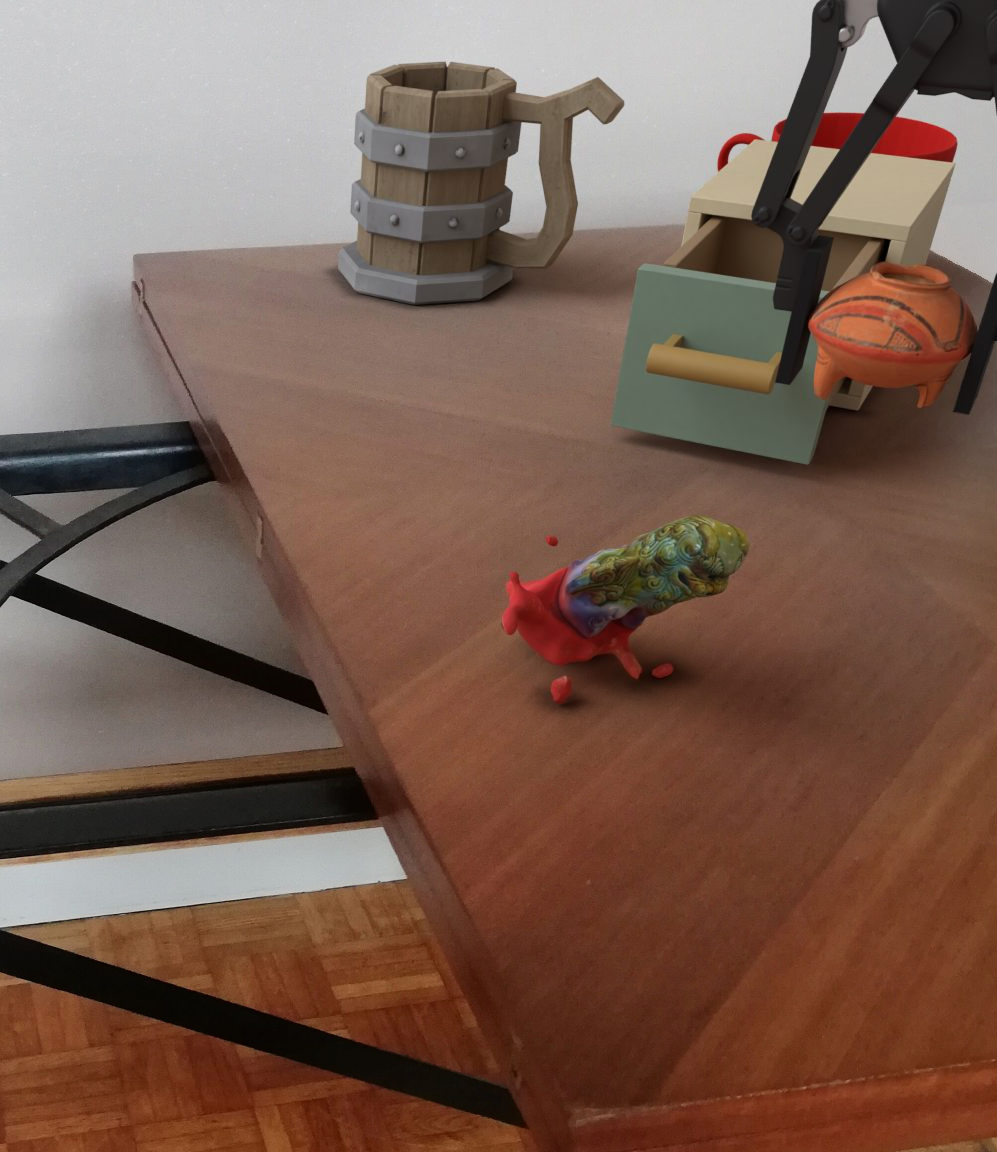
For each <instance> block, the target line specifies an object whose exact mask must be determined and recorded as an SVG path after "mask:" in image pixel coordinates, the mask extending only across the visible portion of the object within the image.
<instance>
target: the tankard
mask: <svg viewBox="0 0 997 1152" xmlns="http://www.w3.org/2000/svg"><path fill="white" fill-rule="evenodd" d="M517 84H518V83H517V81H516V80H515V79H514V78H513V77H511V76H510V75H509V74H507V73H505V72H504V71H503V70H501V69H499V68H495V67H493V66H486V65H480V64H479V65H478V64H472V63H463V62H456V61H450V62H449V64H448V65H447V62H446V61H429V62H409V63H398V64H393V65H390V66H387V67H385V68H382V69H379V70H377V71H374V72H372V73H370V74H369V75H367V77H366V83H365V85H366V86H365V100H364V101H365V102H364V108H362V109H360V110H357V112H355V118H354V119H355V122H354V140H353V141H354V142H353V144H354V146H355V147H356V148H357V149H358V150H359V151H360V152H361V167H360V178H359V179H357V180H355V181H353V182H352V183H351V191H350V210H349V213H350V214H351V216H352V217H353V218H354V219H355V220H356V222H357V233H356V234H357V236H356V241H353V242H352V243H349V244H348V245H346V246H344V247H342V248H340V250H339V251H338V260H337V269H338V271H339V272H340V273H341V275H342V276H343V277H344V278H345V280H346V281H347V282H348V283H349V284H350V286H351V287H352V289H353V290H354V291H355V292H356V293H357V294H362V295H366V296H372V297H376V298H381V299H386V300H390V301H394V302H399V303H403V304H408V305H414V306H418V305H419V306H421V305H433V304H446V303H448V304H449V303H459V302H461V303H462V302H474V301H476V302H477V301H480V300H482V299H483V298H485V297H487V296H488V295H490V294H491V293H493V292H495V291H496V290H498V289H500V288H501V287H503V286H504V285H506V284H508V283H509V282H511V281H512V280H513V274H514V269H516V270H517V269H521V270H522V269H526V270H527V269H531V270H532V269H533V270H534V269H537V270H539V269H540V270H541V269H542V270H543V269H544V270H545V269H548V268H549V267H552V266H553V264H554V263H555V261H556V260H557V258H558V257H559V255H560V254H561V252H562V251H563V249H564V248H565V247H566V245H567V244H568V242H569V241H570V240H571V238H572V236H573V235H574V234H573V233H574V228H575V224H576V218H577V211H578V207H579V201H578V195H577V189H576V184H575V177H574V171H573V165H572V144H573V143H572V142H573V127H574V126H573V125H574V118H576V117H577V116H579V115H581V114H583V113H585V112H587V111H589V112H590V113H591V114H592V115H593V117H595V118H596V119H597V120H598V121H599V122H600V123H601V125H608V124H610V123H612V122H613V121H614V120H615V119H616V117H617V116H618V115H619V114H620V112H621V111H622V109H623V108H624V107H625V100H624V99H623V98H622V97H621V96H619V94H618V93H616V92H615V91H614V90H613V89H612V88H611V87H610V86H609V85H608V84H606V82H604V81H603V80H602V79H601V78H600V77H599V76H596V77H595V78H591V79H590V80H588V81H585V82H582V83H581V84H578V85H576V86H574V87H571V88H569V89H566V90H562V91H559V92H557V93H553V94H550V95H547V96H540V95H533V94H529V93H528V94H526V93H521V92H517ZM523 123H525V124H535V125H536V124H537V125H539V147H538V168H539V169H538V170H539V174H540V179H541V185H542V190H543V196H544V203H545V206H546V207H545V214H544V218H543V224H542V228H541V229H540V231H539V233H538V234H537V236H536V237H533V238H524V237H521V236H518V235H516V234H512V233H510V232H507V231H504V230H501V228H502V227H504V226H506V225H507V224H508V223H510V221H511V212H512V204H513V195H514V192H513V190H512V189H511V188H509V186H507V185H506V178H507V171H508V162H509V161H508V160H509V158H510V157H513V156H514V155H516V154H517V153H518V152H519V147H520V139H521V131H522V124H523Z"/></svg>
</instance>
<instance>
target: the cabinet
mask: <svg viewBox="0 0 997 1152" xmlns="http://www.w3.org/2000/svg"><path fill="white" fill-rule="evenodd" d="M777 143H778V142H773V141H771V140H765V139H764V140H756V139H755V140H754V141H753V142H751V143H750V144H749V145H747V146H745V147H744V148H743V149H742V150H741V151H740V152H739V153H737V155H735V157H734V158H732V159H731V160H730V161H728V164H727V165H726V166H725V167H724V168H722V169H721V170H720V171H719V172H718V171H717V172H716V173H715V174H714V175H713V176H712V177H711V178H710V179H709V180H708V181H706V183H704V184H703V185H702V186H701V187H700V188H699V189H697V191H695V192H694V193H693V194H692V195H691V196H690V198H689V203H688V209H687V211H688V212H687V215H686V219H685V224H684V230H683V235H682V240H681V245H680V247H681V246H683V245H684V244H685V243H686V242H687V241H688V240H689V239H690V238H691V237H692V236H693V235H694V234H695V233H696V232H697V231H698V230H699V229H700V228H701V227H702V226H703V225H704V224H705V223H707V222H708V221H709V220H710V219H711V218H712V217H713V216H714V215H718V216H725V217H732V218H739V219H747V220H752V218H751V214H752V210H753V207H754V205H755V202H756V199H757V197H758V194H759V191H760V189H761V186H762V183H763V181H764V178H765V175H766V173H767V170H768V167H769V165H770V162H771V159H772V156H773V154H774V151H775V148H776V146H777ZM839 150H840V149H832V148H824V147H815V146H811V147H810V149H809V152H808V155H807V157H806V160H805V162H804V165H803V167H802V170H801V173H800V175H799V178H798V180H797V183H796V185H795V188H794V190H793V193H792V196H791V199H793V200H795V201H796V202H798V203H800V204H802V205H803V204H804V202H805V201H806V199H807V198H808V196H809V195H810V193H811V192H812V190H813V189H814V187H815V186H816V184H817V183H818V181H819V180H820V178H821V177H822V175H823V174H824V172H825V171H826V169H827V168H828V166H829V165H830V163H831V162H832V160H833V159H834V157H835V156H836V154H837V153H838V151H839ZM955 166H956V163H955V162H952V163H951V162H942V161H934V160H926V159H917V158H909V157H900V156H892V155H883V154H875V153H870V155H869V156H868V158H867V159H866V161H865V162H864V163H863V165H862V166H861V168H860V169H859V171H858V172H857V174H856V175H855V177H854V178H853V179H852V181H851V182H850V184H849V185H848V187H847V188H846V190H845V191H844V192H843V194H842V195H841V197H840V198H839V200H838V201H837V203H836V204H835V205H834V207H833V208H832V210H831V211H830V213H829V214H828V216H827V217H826V219H825V220H824V221H823V224H822V225H821V226H820V227H819V230H826V231H833V232H840V233H848V234H855V235H862V236H869V237H876V238H884V239H887V241H886V245H885V248H884V252H883V255H882V259H881V262H889V263H893V264H899V265H916V264H922V265H925V266H927V265H926V264H927V262H928V257H929V254H930V251H931V248H932V244H933V241H934V237H935V234H936V231H937V227H938V223H939V221H940V219H941V218H940V217H941V214H942V210H943V207H944V204H945V201H946V198H947V193H948V191H949V187H950V183H951V180H952V177H953V174H954V170H955V168H956V167H955ZM873 387H874V386H871V385H866V384H862V383H859V382H857V381H855V380H852V379H850V378H849V377H847V379H846V380H845V382H844V384H843V385H842V387H841V388H840V390H839V391H838V393H837V394H836V396H835V397H834V399H833V400H832V402H831V404H830V405H829V407H835V408H839V409H840V408H841V409H847V410H852V411H859V410H860V408H861V406H862V405H863V403H865V400H866V398H867V397H868V395H869V393H870V392H871V390H872V388H873Z"/></svg>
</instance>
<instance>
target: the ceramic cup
mask: <svg viewBox="0 0 997 1152" xmlns="http://www.w3.org/2000/svg"><path fill="white" fill-rule="evenodd" d="M864 113H865V112H840V111H839V112H824V113H823V116H822V119H821V121H820V124H819V126H818V129H817V131H816V134H815V137H814V139H813V142H812V144H811V146H815V147H824V148H832V149H841V147H842V146H843V144H844V143H845V141H846V140H847V138H848V137H849V135H850V134H851V132H852V131H853V129H854V128H855V126H856V125H857V123H858V122H859V120H860V119H861V117H862V116H863V114H864ZM786 119H787V118H785V119H782V120H781V121H778V122H777V123H776V124H775V125H774V127H773V130H772V134H771V135H772V136H771V140H770V141H773V142H778V140H779V138H780V135H781V132H782V130H783V127H784V124H785V122H786ZM755 139H756V140H765V139H764V138H763V137H761V136H759V135H757V134H755V133H751V132H749V133H748V132H742V133H739V134H735V135H733V136H731V137H730V138H729V139H727V140H726V141H725V143H724V144H723V146H722V147H721V149H720V151H719V153H718V157H717V173H718V172H719V171H720V170H721V169H722V168H724V167H725V166H726V165H727V164H728V163H729V157H730V154H731V152H732V150H733V148H735V147H736V146H737V145H747V146H748V145H749V144H750V143H751V142H753V141H754V140H755ZM957 148H958V138H957V137H956V135H954V133H952V132H951V131H949V130H948V129H946V128H944V127H941V126H939V125H935V124H932V123H929V122H925V121H922V120H917V119H912V118H907V117H903V116H902V117H901V116H896V117H895V119H894V120H893V121H892V123H891V124H890V126H889V127H888V129H887V130H886V132H885V133H884V134H883V136H882V137H881V139H880V140H879V142H878V143H877V145H876V146H875V148H874V149H873V150H872V152H871V153H875V154H883V155H892V156H900V157H909V158H917V159H926V160H934V161H942V162H951V163H954V159H955V157H956V153H957Z"/></svg>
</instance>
